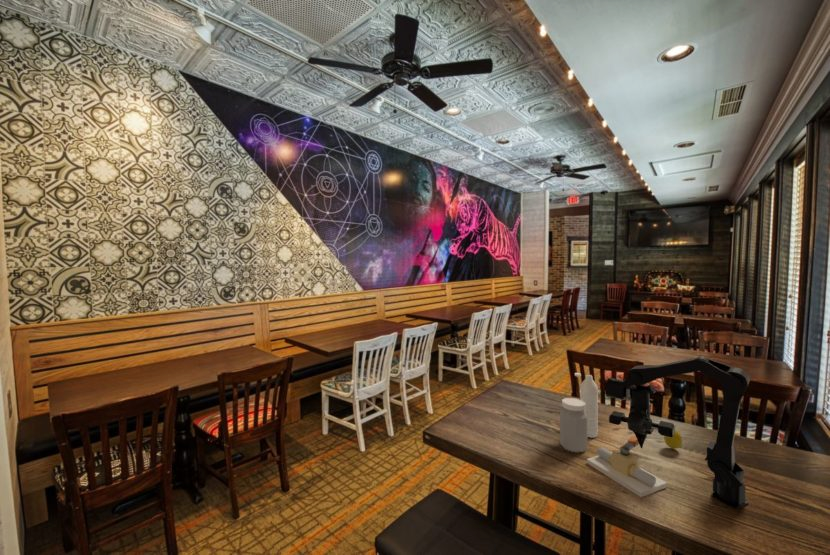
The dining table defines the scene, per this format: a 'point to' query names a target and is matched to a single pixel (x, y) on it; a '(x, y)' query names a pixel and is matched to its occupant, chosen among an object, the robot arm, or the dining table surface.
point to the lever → (629, 446)
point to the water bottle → (590, 404)
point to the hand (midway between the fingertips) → (641, 447)
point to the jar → (573, 425)
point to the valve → (626, 472)
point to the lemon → (674, 440)
